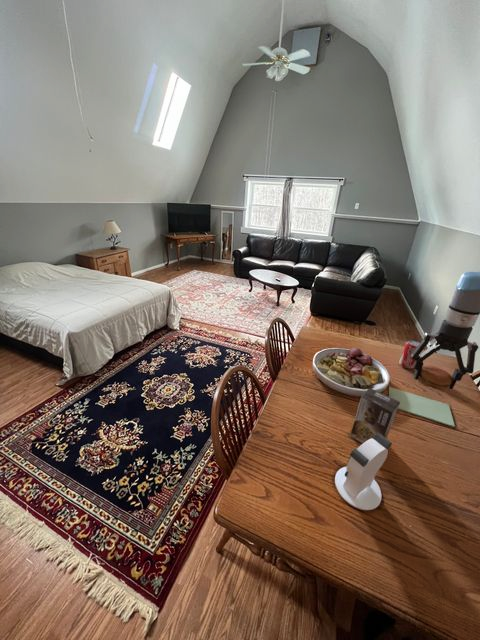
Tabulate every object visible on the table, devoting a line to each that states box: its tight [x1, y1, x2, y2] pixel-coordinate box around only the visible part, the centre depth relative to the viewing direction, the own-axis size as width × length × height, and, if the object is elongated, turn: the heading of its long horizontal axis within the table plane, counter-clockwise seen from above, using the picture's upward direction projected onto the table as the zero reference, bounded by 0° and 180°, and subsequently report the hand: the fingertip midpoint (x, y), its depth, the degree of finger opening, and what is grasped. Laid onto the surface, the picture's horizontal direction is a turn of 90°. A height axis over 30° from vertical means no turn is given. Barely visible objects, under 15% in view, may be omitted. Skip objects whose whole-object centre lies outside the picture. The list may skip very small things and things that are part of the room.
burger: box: [417, 365, 452, 392], centre depth 91 cm, size 10×9×5 cm
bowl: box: [312, 347, 391, 398], centre depth 112 cm, size 30×30×8 cm
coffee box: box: [349, 388, 400, 444], centre depth 81 cm, size 9×6×16 cm
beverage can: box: [398, 340, 421, 369], centre depth 121 cm, size 6×6×12 cm
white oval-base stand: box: [334, 433, 393, 511], centre depth 67 cm, size 12×11×15 cm
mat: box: [388, 386, 456, 428], centre depth 99 cm, size 20×12×1 cm, turn 63°
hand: (432, 382), depth 91 cm, fingers closed on burger, 9 cm apart
